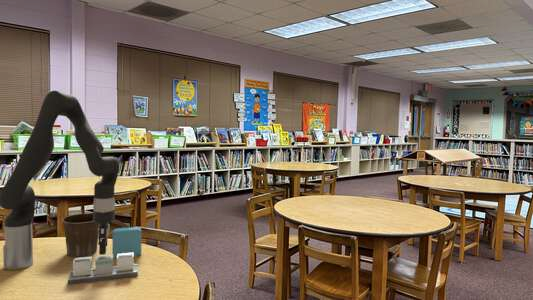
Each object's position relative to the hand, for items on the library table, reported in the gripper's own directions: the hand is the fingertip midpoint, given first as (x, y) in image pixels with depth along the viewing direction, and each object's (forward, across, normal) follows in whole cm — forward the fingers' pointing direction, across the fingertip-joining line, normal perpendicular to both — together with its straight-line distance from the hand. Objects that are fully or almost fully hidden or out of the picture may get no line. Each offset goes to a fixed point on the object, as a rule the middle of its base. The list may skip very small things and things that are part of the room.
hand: (103, 250), depth 135 cm
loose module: (+9, 0, 0) cm, 9 cm away
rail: (+10, 0, +1) cm, 10 cm away
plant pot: (+11, -30, -11) cm, 34 cm away
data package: (+11, -21, +8) cm, 25 cm away
